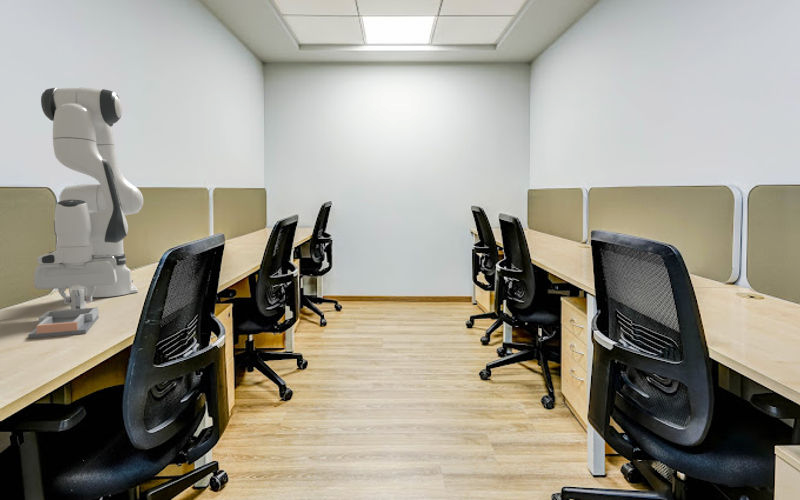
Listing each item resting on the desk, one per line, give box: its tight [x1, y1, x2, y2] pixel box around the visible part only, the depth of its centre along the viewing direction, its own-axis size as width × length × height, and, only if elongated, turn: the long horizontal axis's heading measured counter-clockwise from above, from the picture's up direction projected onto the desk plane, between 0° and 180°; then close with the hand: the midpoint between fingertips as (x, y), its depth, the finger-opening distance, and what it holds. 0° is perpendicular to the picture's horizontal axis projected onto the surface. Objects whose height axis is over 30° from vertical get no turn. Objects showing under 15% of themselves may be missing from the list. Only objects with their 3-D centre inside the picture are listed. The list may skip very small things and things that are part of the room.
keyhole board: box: [27, 306, 100, 339], centre depth 130 cm, size 18×12×3 cm, turn 23°
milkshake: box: [68, 285, 87, 309], centre depth 144 cm, size 4×5×10 cm
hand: (78, 302), depth 144 cm, fingers closed on milkshake, 4 cm apart
